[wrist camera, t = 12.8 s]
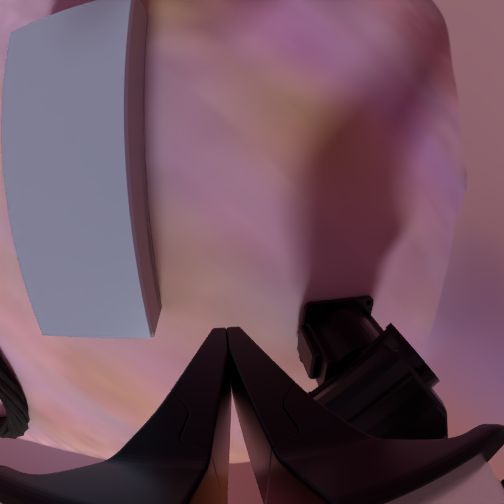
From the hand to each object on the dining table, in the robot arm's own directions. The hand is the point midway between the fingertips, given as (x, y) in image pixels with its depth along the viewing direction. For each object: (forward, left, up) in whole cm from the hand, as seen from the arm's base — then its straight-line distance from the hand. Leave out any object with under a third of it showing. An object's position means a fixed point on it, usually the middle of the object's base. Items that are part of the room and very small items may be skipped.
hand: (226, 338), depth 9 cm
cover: (+9, -5, -9) cm, 14 cm away
